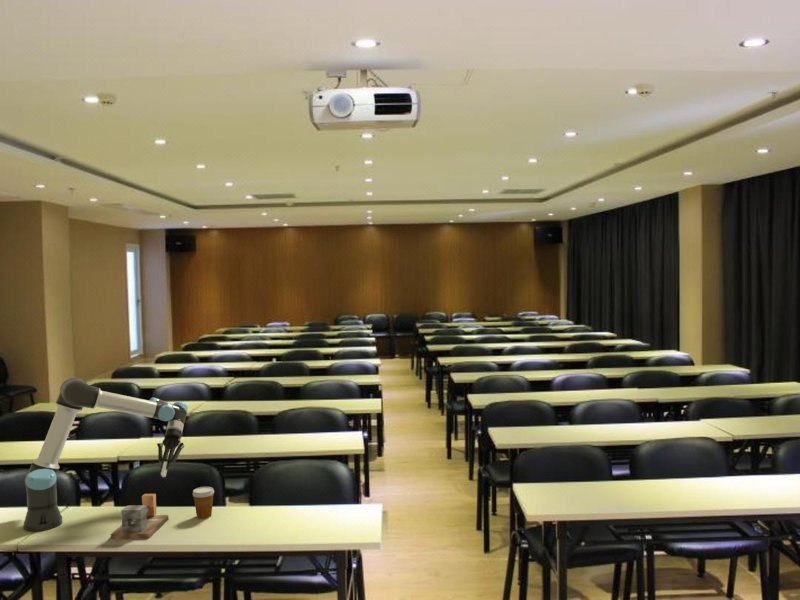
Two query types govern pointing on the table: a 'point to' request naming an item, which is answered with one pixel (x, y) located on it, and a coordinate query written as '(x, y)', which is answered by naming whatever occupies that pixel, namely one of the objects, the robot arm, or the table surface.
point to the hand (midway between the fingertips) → (163, 475)
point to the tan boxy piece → (149, 504)
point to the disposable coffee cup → (203, 501)
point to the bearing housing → (138, 523)
